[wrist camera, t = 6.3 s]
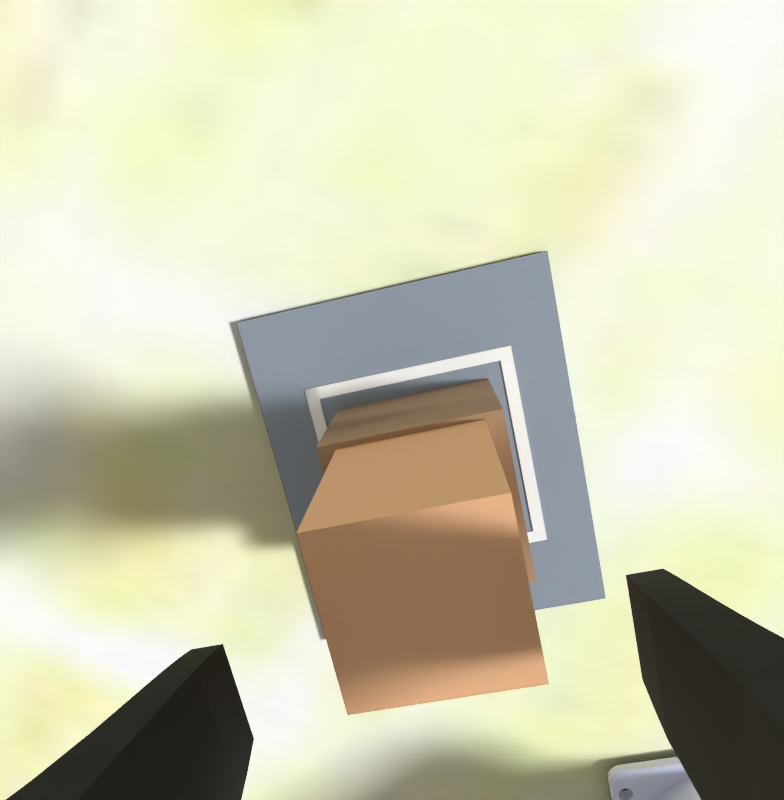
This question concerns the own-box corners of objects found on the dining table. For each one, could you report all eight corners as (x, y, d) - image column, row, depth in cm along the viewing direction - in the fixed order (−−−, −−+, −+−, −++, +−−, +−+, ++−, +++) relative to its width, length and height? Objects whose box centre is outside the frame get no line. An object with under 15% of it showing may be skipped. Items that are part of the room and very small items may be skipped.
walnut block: (515, 519, 20) (536, 581, 17) (372, 546, 21) (360, 612, 17) (487, 378, 19) (503, 408, 16) (338, 409, 20) (316, 447, 16)
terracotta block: (512, 557, 16) (548, 684, 12) (370, 582, 17) (347, 714, 12) (484, 418, 16) (511, 492, 11) (335, 448, 16) (296, 532, 11)
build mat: (603, 593, 21) (606, 599, 21) (329, 639, 22) (328, 645, 22) (545, 251, 19) (547, 251, 18) (239, 322, 20) (235, 323, 19)
